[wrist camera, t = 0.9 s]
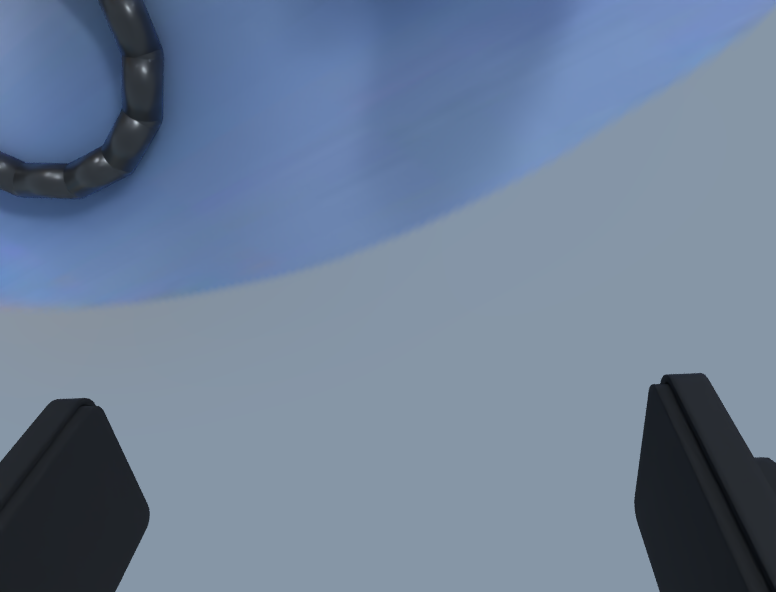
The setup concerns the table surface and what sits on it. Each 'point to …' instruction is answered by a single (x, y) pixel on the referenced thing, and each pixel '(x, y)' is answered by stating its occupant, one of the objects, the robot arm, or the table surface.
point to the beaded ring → (128, 131)
